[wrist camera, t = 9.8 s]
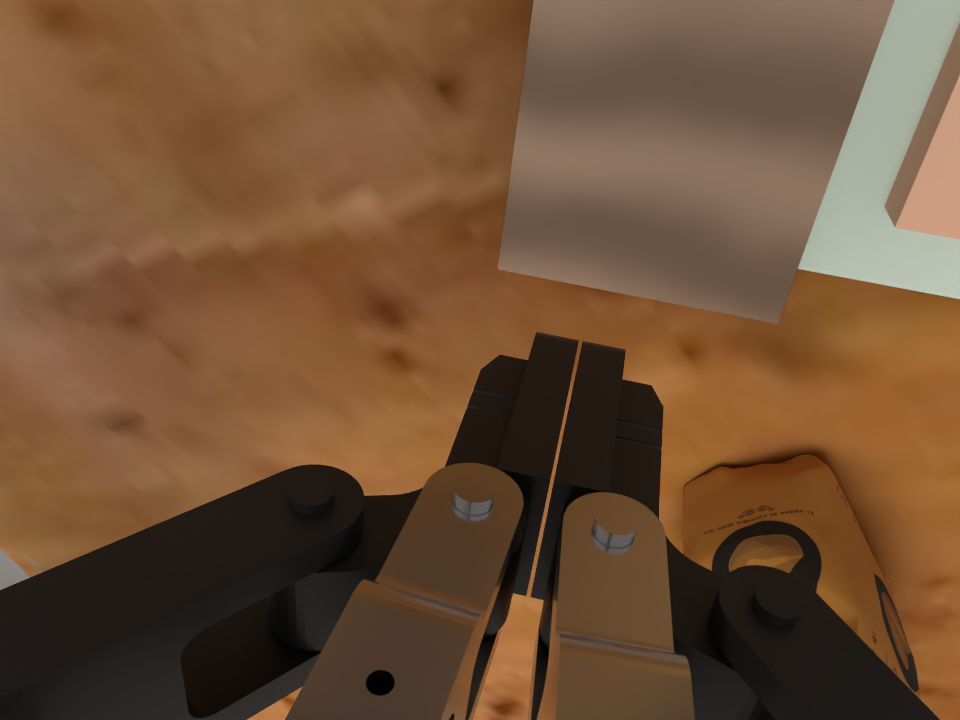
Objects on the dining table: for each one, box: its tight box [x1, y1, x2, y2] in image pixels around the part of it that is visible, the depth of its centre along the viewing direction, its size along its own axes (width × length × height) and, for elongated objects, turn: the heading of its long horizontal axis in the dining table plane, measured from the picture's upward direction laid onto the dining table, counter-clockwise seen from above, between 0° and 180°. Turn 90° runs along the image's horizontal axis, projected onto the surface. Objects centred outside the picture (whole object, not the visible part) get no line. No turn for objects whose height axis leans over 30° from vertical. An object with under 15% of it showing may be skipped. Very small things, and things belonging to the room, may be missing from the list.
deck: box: [498, 0, 895, 324], centre depth 32 cm, size 18×12×4 cm, turn 174°
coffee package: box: [682, 455, 921, 700], centre depth 37 cm, size 10×12×22 cm
